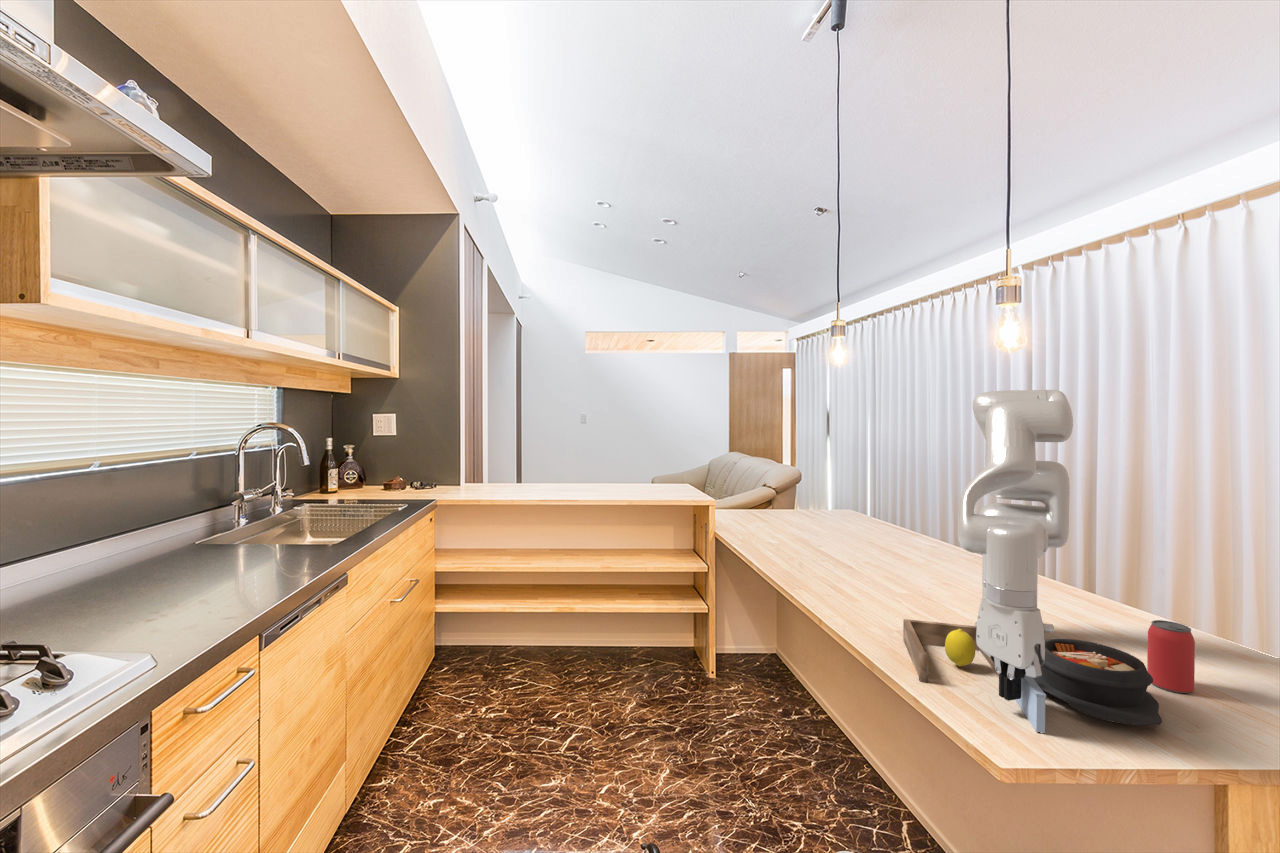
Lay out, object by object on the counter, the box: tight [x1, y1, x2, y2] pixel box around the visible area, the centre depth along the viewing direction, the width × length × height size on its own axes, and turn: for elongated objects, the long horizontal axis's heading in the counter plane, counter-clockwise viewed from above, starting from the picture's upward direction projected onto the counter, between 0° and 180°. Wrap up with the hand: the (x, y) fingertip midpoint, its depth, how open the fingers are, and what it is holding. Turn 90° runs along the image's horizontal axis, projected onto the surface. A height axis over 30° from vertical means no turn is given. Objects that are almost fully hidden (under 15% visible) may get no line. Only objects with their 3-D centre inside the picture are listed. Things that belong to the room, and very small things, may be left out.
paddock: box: [902, 618, 999, 684], centre depth 115 cm, size 17×22×7 cm
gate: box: [1014, 676, 1047, 734], centre depth 96 cm, size 12×1×6 cm, turn 161°
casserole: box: [1033, 638, 1163, 727], centre depth 102 cm, size 25×19×8 cm
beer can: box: [1146, 619, 1196, 694], centre depth 106 cm, size 7×7×12 cm
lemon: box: [944, 629, 976, 668], centre depth 114 cm, size 6×6×8 cm
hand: (1009, 697), depth 97 cm, fingers closed
